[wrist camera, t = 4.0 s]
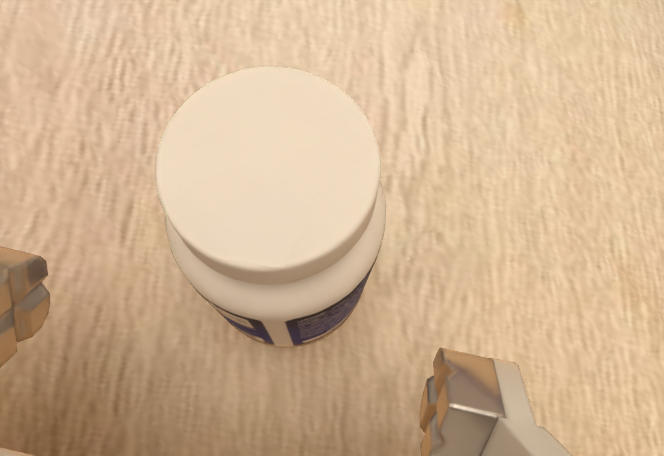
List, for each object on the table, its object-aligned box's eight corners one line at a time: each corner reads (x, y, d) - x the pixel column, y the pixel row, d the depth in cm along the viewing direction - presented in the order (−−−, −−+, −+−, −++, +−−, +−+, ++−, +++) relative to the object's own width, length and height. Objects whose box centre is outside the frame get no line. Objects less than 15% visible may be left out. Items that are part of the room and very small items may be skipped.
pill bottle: (356, 201, 21) (395, 39, 12) (368, 344, 19) (425, 291, 10) (213, 207, 21) (134, 45, 11) (212, 353, 19) (115, 307, 9)
